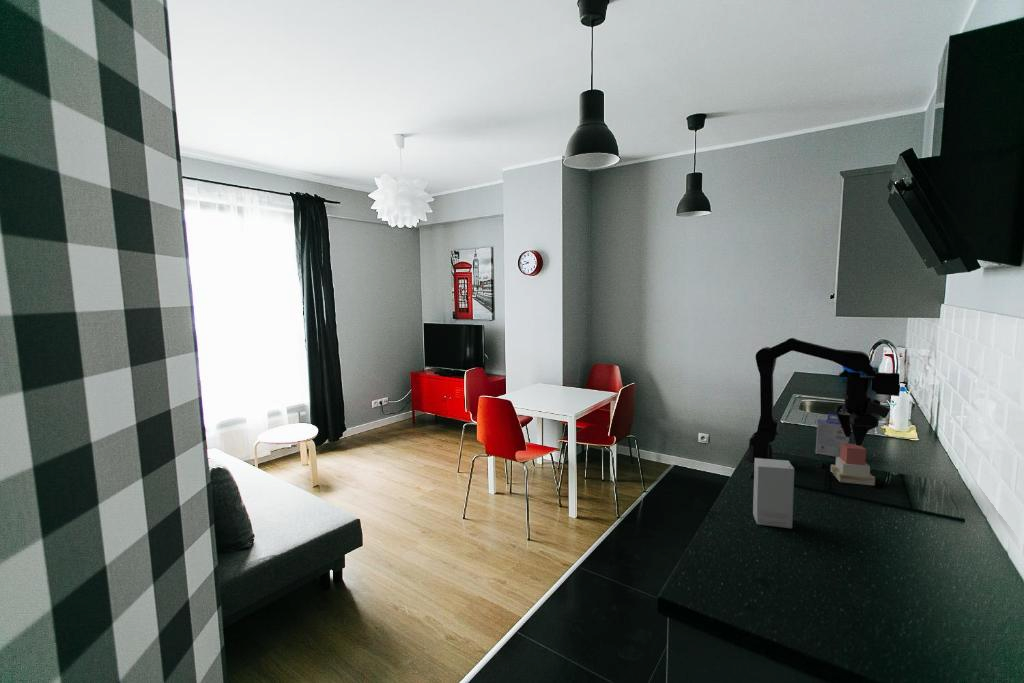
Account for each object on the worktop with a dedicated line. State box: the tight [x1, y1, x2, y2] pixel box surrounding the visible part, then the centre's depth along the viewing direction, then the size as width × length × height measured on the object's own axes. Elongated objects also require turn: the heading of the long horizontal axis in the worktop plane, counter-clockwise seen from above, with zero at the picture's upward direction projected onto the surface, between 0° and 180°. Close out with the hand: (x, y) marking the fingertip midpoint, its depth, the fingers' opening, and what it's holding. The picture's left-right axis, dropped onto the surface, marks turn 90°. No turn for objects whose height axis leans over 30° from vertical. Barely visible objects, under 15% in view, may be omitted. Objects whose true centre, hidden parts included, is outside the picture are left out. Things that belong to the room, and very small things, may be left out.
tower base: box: [830, 463, 876, 486], centre depth 148 cm, size 9×9×3 cm
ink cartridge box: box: [814, 413, 851, 458], centre depth 169 cm, size 10×6×14 cm, turn 55°
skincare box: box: [752, 458, 796, 529], centre depth 119 cm, size 8×7×16 cm
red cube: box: [840, 443, 867, 465], centre depth 147 cm, size 5×5×5 cm
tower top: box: [835, 457, 871, 476], centre depth 148 cm, size 7×7×3 cm
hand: (852, 441), depth 147 cm, fingers open, 9 cm apart
